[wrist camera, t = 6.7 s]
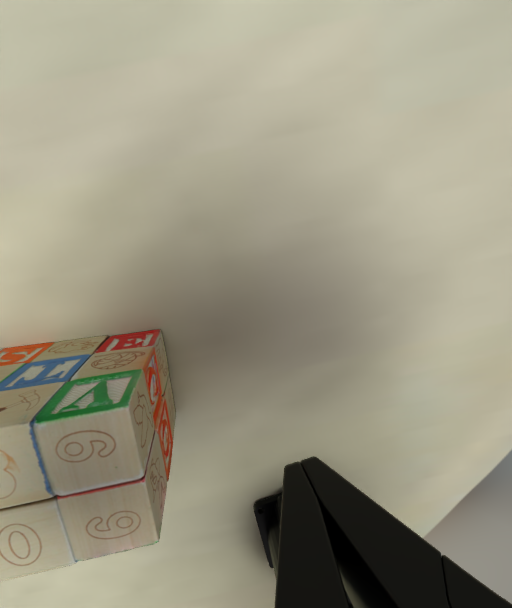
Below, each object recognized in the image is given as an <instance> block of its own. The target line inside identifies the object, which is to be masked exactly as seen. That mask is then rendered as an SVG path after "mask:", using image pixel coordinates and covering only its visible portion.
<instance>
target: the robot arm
mask: <svg viewBox="0 0 512 608" xmlns="http://www.w3.org/2000/svg"><path fill="white" fill-rule="evenodd" d="M260 508H262V509H260ZM254 513H255V516H256V520H257V523H258V527H259V530H260V534H261V538H262V541H263V545H264V548H265V552H266V555H267V559H268V562H269V566H270V567H271V568H274V571H275V576H276V580H277V581H276V596H275V608H512V604H511V603H509V602H508V601H506V600H505V599H503V598H502V597H501V596H499V595H497V594H496V593H495V592H493V591H492V590H490V589H489V588H488V587H486V586H485V585H484V584H482V583H481V582H480V581H478V580H477V579H475V578H474V577H473V576H472V575H470V574H469V573H467V572H466V571H465V570H463V569H462V568H461V567H459V566H458V565H457V564H456V563H454V562H453V561H452V560H450V559H449V558H448V557H446V556H445V555H442V556H441V553H440V552H439V551H438V550H437V549H436V548H435V547H433V546H432V545H430V544H429V543H428V542H427V541H425V540H424V539H423V538H421V537H420V536H419V535H418V534H416V533H415V532H414V531H412V530H411V529H410V528H408V527H407V526H406V525H404V524H403V523H402V522H401V521H399V520H398V519H397V518H395V517H394V516H393V515H391V514H390V513H389V512H387V511H386V510H385V509H384V508H382V507H381V506H380V505H378V504H377V503H376V502H374V501H373V500H372V499H370V498H369V497H368V496H367V495H365V494H364V493H363V492H361V491H360V490H359V489H357V488H356V487H355V486H354V485H352V484H351V483H350V482H348V481H347V480H346V479H344V478H343V477H342V476H340V475H339V474H338V473H337V472H335V471H334V470H333V469H331V468H330V467H329V466H327V465H326V464H325V463H323V462H322V461H321V460H320V459H318V458H317V457H314V456H313V457H310V458H307V459H304V460H302V461H301V463H299V462H295V463H292V464H289V465H286V466H285V468H284V478H283V493H282V494H279V495H276V496H273V497H270V498H267V499H264V500H261V501H258V502H256V503H255V504H254Z"/></svg>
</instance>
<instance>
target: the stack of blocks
mask: <svg viewBox="0 0 512 608" xmlns="http://www.w3.org/2000/svg"><path fill="white" fill-rule="evenodd" d="M175 417H176V411H175V405H174V400H173V394H172V388H171V382H170V377H169V370H168V363H167V357H166V351H165V346H164V341H163V337H162V333H161V330H160V329H157V330H150V331H144V332H137V333H130V334H122V335H115V336H111V337H108V336H106V335H105V336H97V337H90V338H82V339H75V340H67V341H60V342H57V343H54V342H52V343H43V344H35V345H27V346H19V347H12V348H4V349H1V350H0V582H1V581H6V580H10V579H14V578H18V577H23V576H27V575H31V574H35V573H39V572H44V571H48V570H53V569H57V568H61V567H66V566H70V565H72V564H75V563H77V561H84V560H88V559H92V558H97V557H101V556H105V555H109V554H113V553H118V552H124V551H128V550H131V549H134V548H138V547H143V546H148V545H152V544H155V543H157V542H159V538H160V532H161V524H162V517H163V510H164V503H165V496H166V488H167V482H168V479H169V473H170V465H171V457H172V447H173V436H174V426H175Z"/></svg>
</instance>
